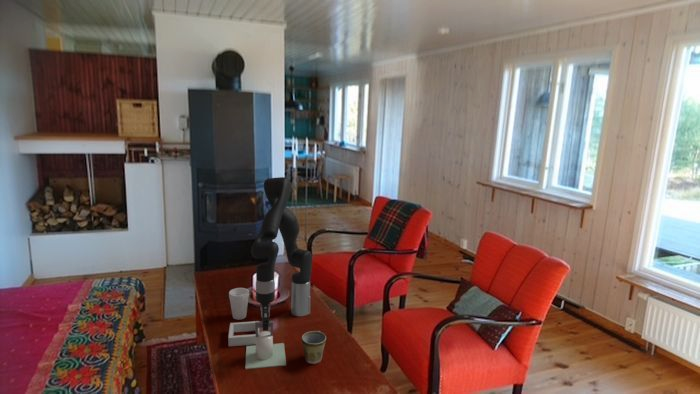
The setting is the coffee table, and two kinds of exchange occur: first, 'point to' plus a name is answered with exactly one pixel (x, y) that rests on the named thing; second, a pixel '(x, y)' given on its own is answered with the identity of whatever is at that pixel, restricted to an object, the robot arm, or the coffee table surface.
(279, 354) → the mat
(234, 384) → the coffee table surface
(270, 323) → the egg with flat handle
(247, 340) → the frame
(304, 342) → the ceramic cup
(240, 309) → the foam cup
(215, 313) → the coffee table surface
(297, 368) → the coffee table surface
